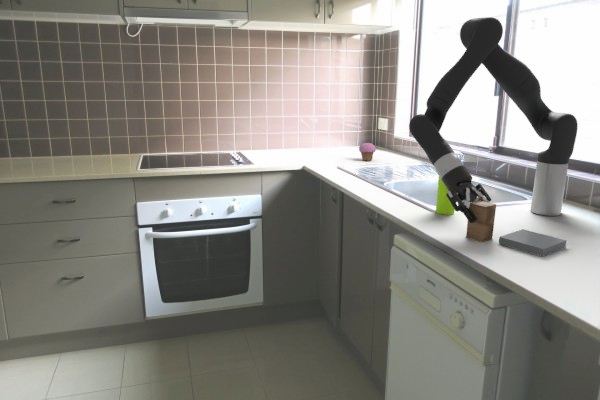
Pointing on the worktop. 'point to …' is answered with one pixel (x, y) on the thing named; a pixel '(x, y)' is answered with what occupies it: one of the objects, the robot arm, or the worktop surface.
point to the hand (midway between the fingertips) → (483, 219)
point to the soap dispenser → (443, 200)
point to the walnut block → (481, 221)
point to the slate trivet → (532, 242)
